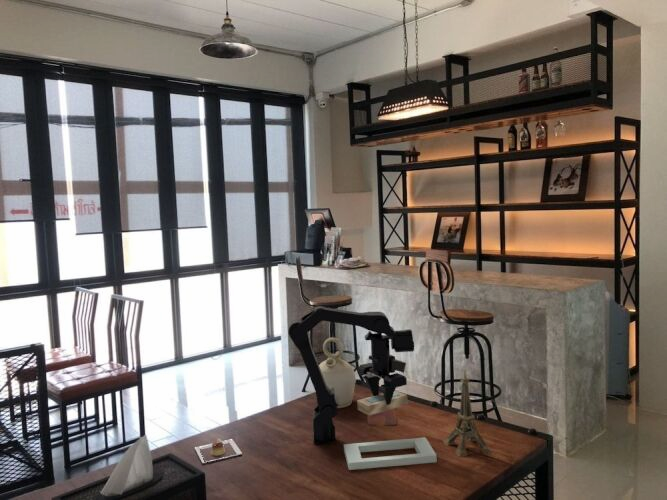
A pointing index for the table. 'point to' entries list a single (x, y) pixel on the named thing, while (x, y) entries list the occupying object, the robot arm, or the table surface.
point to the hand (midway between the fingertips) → (382, 401)
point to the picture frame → (381, 403)
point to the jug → (338, 374)
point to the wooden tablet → (383, 418)
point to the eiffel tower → (466, 424)
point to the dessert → (218, 449)
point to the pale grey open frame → (420, 444)
